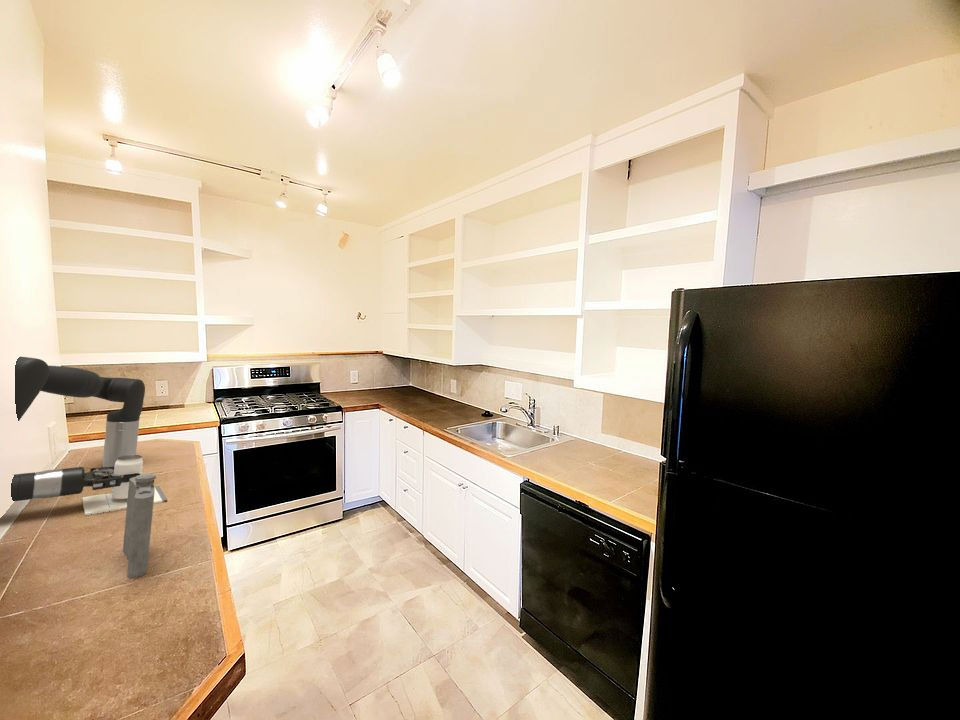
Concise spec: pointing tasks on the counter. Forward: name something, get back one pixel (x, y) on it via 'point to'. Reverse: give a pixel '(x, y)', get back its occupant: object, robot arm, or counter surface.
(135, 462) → the can
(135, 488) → the grey upright slab
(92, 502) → the notepad
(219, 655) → the counter surface
